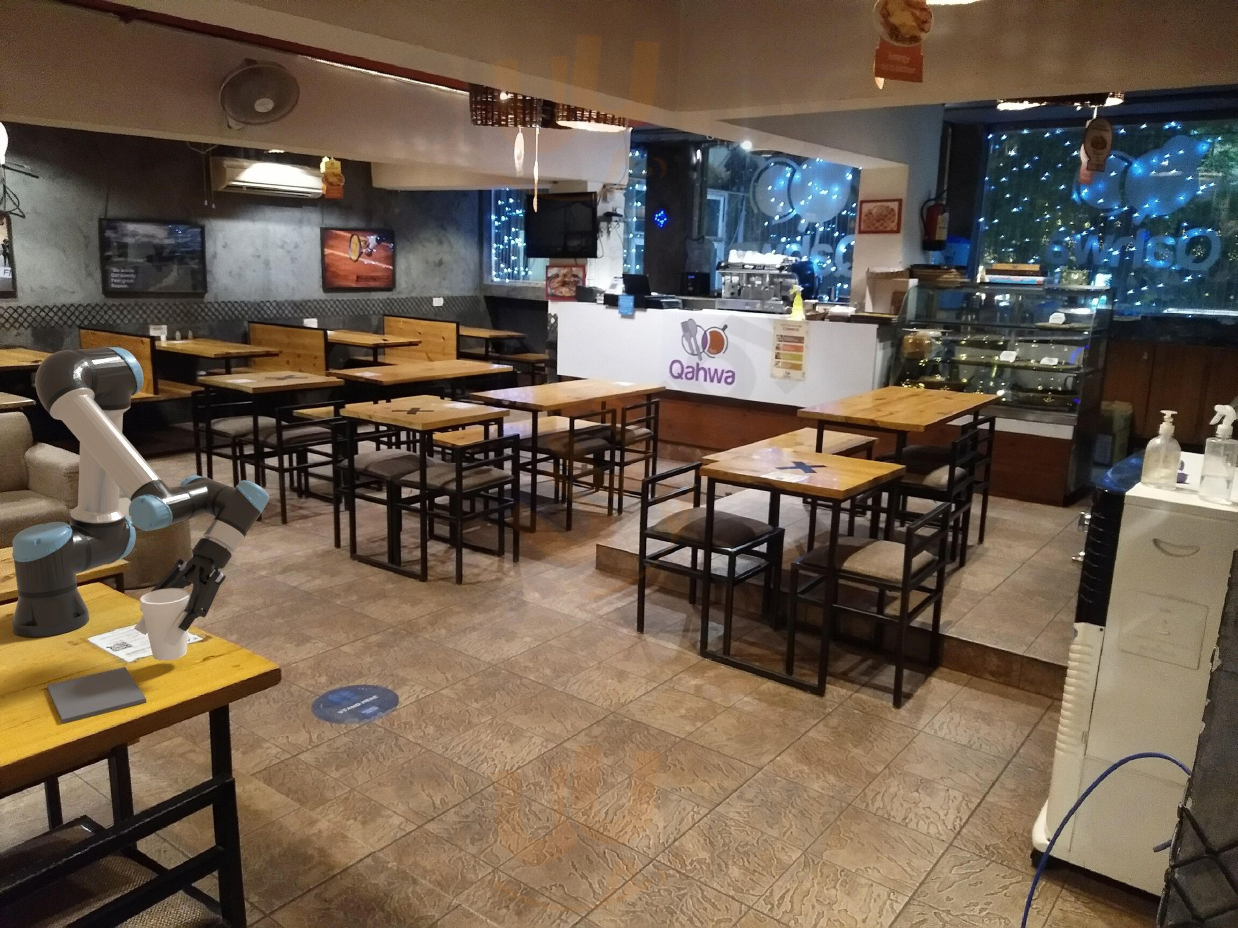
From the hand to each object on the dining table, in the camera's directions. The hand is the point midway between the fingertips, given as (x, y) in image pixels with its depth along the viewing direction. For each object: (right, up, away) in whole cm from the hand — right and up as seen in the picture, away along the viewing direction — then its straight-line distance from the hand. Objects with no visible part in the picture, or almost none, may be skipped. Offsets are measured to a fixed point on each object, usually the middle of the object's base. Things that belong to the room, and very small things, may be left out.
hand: (154, 637), depth 187 cm
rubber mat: (-6, -10, -10) cm, 15 cm away
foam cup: (+1, -5, +4) cm, 6 cm away
